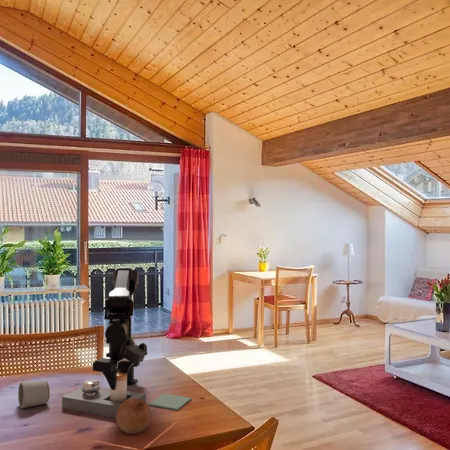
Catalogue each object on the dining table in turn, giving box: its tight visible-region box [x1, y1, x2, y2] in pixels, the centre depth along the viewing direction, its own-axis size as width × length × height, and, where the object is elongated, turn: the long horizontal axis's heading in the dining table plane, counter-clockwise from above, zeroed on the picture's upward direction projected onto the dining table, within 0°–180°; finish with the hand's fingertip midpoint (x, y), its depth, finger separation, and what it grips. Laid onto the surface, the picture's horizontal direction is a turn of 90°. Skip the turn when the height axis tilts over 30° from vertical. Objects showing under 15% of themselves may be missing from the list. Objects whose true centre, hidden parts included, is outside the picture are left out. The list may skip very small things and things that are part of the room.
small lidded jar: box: [109, 372, 128, 403], centre depth 152 cm, size 5×5×8 cm
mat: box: [147, 393, 192, 412], centre depth 158 cm, size 10×10×1 cm
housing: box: [61, 386, 147, 419], centre depth 154 cm, size 12×22×4 cm, turn 69°
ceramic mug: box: [17, 380, 51, 409], centre depth 158 cm, size 11×8×8 cm
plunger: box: [81, 379, 100, 396], centre depth 156 cm, size 5×5×7 cm
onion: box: [115, 398, 152, 435], centre depth 138 cm, size 10×9×10 cm
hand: (118, 387), depth 152 cm, fingers closed on small lidded jar, 5 cm apart
